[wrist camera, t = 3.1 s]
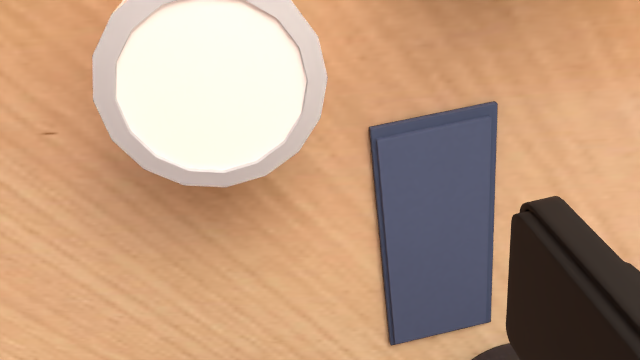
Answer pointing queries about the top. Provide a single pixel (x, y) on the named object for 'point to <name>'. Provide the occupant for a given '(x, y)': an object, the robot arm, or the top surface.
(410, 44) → the top surface
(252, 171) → the cream tapered cup
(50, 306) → the top surface
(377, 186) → the blue flat rectangular slab
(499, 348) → the travel mug
